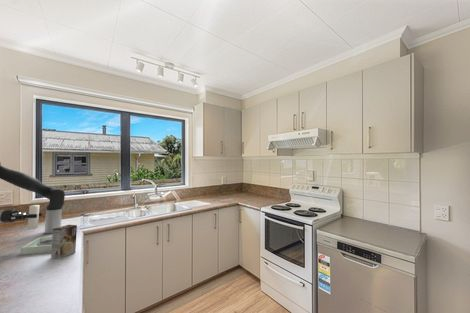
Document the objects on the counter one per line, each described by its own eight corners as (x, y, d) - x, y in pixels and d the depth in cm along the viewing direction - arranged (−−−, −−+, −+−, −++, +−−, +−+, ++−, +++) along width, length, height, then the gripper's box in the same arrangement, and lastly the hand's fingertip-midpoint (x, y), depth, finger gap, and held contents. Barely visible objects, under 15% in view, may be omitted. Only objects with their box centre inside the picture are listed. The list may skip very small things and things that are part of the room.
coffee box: (67, 251, 121) (69, 224, 122) (75, 252, 120) (77, 225, 121) (50, 257, 112) (52, 228, 113) (59, 259, 111) (61, 229, 112)
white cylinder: (30, 227, 127) (32, 205, 128) (39, 226, 128) (41, 204, 129) (25, 229, 123) (27, 206, 124) (34, 229, 124) (36, 206, 125)
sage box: (39, 243, 132) (40, 237, 132) (68, 241, 137) (69, 235, 137) (20, 254, 115) (20, 247, 115) (54, 251, 119) (54, 245, 120)
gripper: (-5, 212, 115) (32, 211, 120) (14, 207, 129) (46, 206, 134) (-7, 225, 115) (31, 224, 120) (12, 219, 128) (45, 218, 133)
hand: (39, 215), depth 127 cm, fingers closed on white cylinder, 4 cm apart
